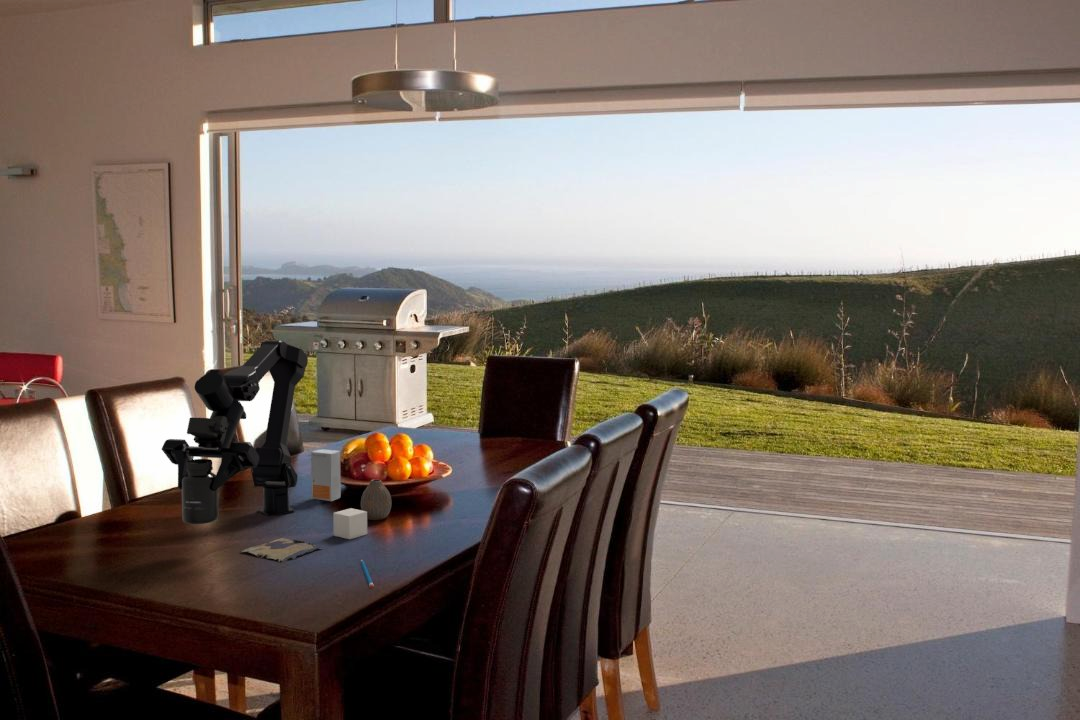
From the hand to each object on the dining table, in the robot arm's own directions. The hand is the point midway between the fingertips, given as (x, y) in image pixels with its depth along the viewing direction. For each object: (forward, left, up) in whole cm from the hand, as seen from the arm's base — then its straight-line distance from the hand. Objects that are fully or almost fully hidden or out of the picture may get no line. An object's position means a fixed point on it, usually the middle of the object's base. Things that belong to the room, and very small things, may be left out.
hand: (196, 489), depth 185 cm
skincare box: (-28, +41, -13) cm, 51 cm away
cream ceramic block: (+5, +31, -13) cm, 34 cm away
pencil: (+30, +21, -14) cm, 39 cm away
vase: (-4, +42, -13) cm, 44 cm away
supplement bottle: (-1, +1, -7) cm, 7 cm away
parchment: (+7, +15, -14) cm, 21 cm away
